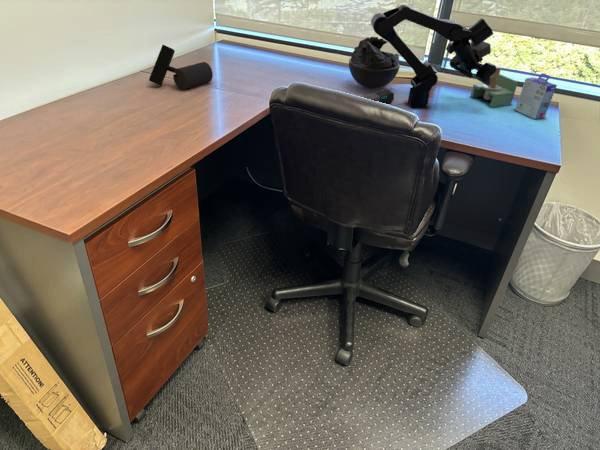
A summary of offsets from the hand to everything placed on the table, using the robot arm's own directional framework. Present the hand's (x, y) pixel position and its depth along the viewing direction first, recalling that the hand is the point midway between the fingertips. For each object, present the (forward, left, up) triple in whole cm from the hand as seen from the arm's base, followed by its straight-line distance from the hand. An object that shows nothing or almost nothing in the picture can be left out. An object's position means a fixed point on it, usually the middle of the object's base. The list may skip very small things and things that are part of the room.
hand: (479, 80), depth 176 cm
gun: (-46, -4, -9) cm, 47 cm away
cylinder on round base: (+7, +1, -8) cm, 10 cm away
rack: (+8, +1, -9) cm, 12 cm away
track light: (-108, +32, -9) cm, 113 cm away
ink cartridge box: (+15, -13, -9) cm, 22 cm away
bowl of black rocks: (-34, +21, -9) cm, 41 cm away
